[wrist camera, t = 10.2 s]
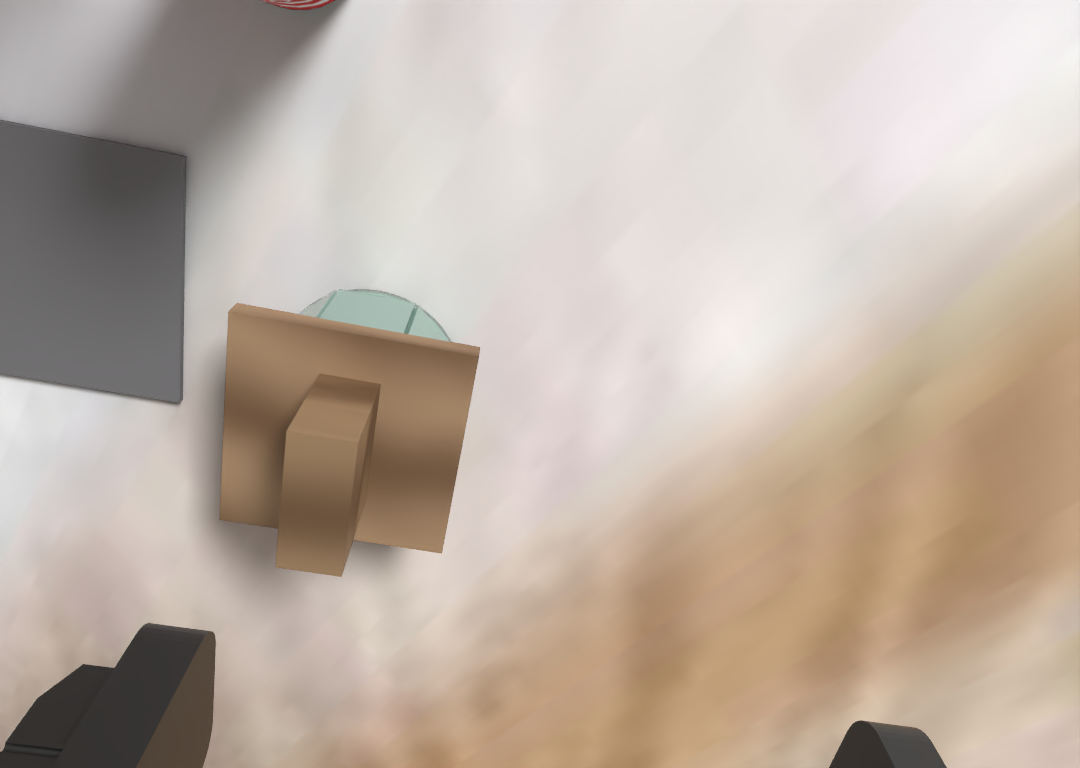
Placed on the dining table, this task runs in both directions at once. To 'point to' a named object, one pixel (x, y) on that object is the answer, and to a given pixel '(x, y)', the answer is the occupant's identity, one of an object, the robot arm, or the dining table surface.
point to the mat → (91, 262)
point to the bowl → (376, 312)
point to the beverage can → (299, 3)
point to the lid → (340, 434)
